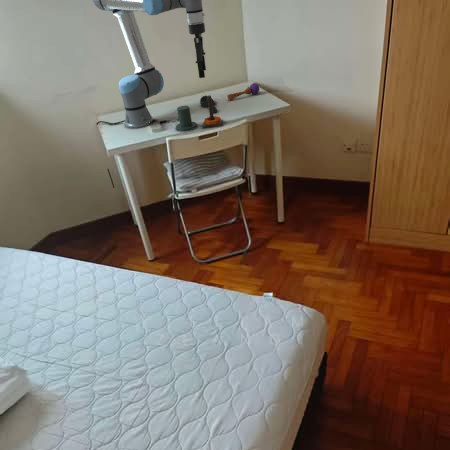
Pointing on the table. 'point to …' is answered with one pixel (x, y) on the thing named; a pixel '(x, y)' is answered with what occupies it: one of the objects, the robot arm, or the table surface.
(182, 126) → the stand
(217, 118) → the ring
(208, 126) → the post
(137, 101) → the robot arm
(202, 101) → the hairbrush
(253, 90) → the kendama
